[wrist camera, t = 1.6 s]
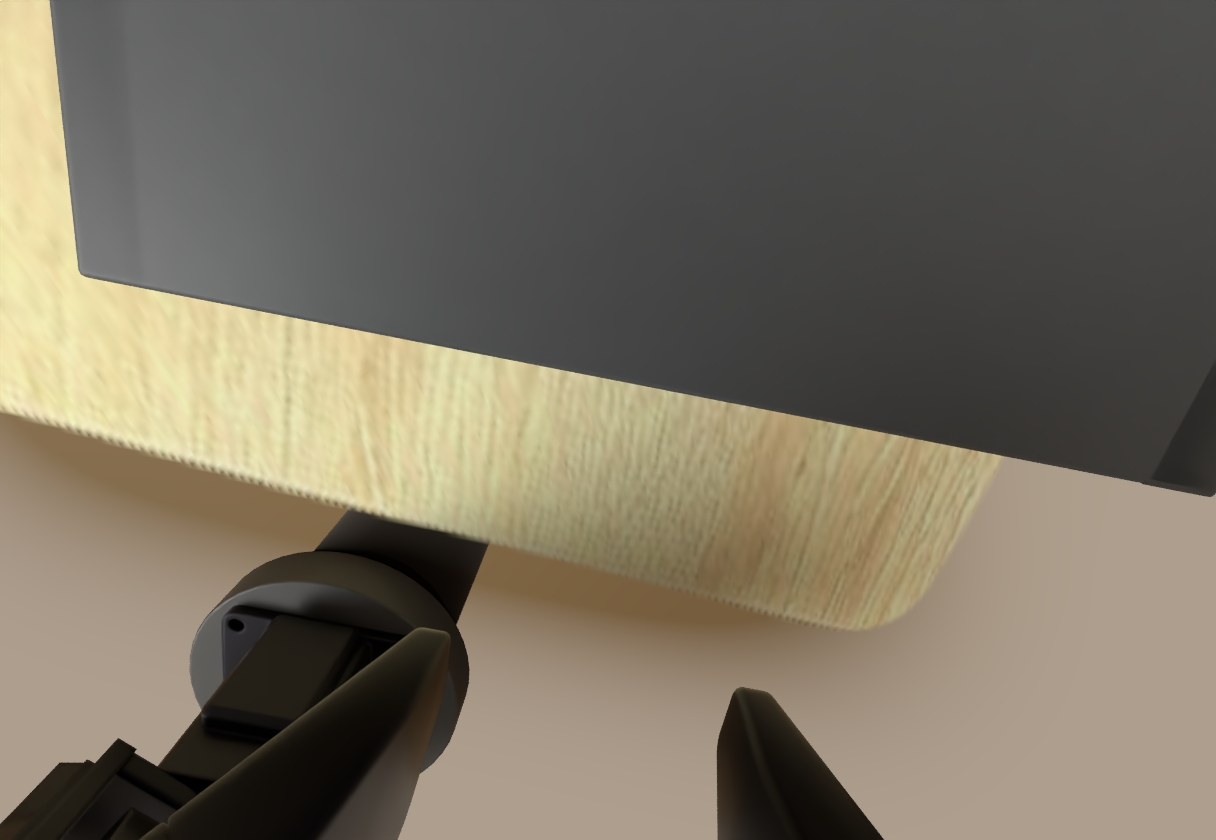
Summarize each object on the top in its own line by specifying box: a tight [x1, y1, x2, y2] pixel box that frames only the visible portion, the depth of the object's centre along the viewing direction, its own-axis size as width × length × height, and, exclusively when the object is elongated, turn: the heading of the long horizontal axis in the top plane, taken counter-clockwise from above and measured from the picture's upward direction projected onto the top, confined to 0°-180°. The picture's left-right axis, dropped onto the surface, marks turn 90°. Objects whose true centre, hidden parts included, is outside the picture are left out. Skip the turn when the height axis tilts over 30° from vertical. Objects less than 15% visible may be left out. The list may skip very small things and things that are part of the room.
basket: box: [50, 0, 1216, 497], centre depth 12 cm, size 8×12×13 cm, turn 79°
